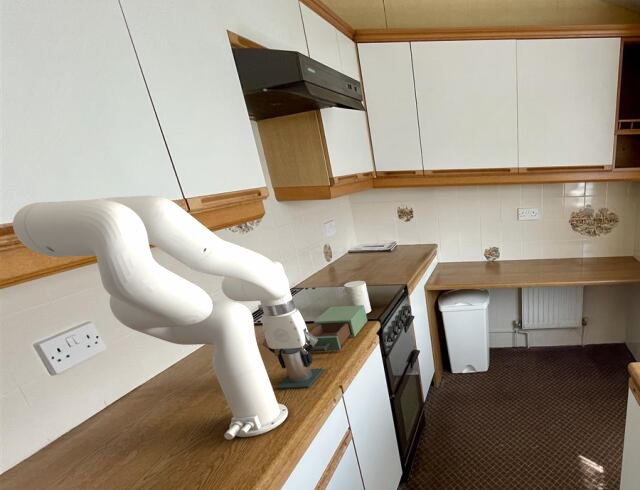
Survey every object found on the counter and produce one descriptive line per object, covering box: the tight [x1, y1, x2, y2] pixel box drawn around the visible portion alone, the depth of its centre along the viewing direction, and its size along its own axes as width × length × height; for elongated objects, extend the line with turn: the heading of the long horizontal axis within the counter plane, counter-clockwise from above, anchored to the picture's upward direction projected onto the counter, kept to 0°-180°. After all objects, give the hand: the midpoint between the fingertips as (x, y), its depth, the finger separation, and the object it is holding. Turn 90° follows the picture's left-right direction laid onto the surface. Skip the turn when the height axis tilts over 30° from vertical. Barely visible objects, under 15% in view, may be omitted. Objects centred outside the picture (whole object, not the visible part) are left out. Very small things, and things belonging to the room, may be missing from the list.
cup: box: [343, 280, 372, 315], centre depth 166 cm, size 8×8×12 cm
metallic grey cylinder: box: [281, 348, 312, 382], centre depth 117 cm, size 6×6×9 cm
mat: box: [276, 368, 324, 390], centre depth 119 cm, size 10×9×1 cm
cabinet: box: [313, 305, 368, 338], centre depth 150 cm, size 15×13×7 cm
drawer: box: [306, 322, 352, 353], centre depth 137 cm, size 18×12×5 cm, turn 1°
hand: (297, 365), depth 117 cm, fingers closed on metallic grey cylinder, 6 cm apart
